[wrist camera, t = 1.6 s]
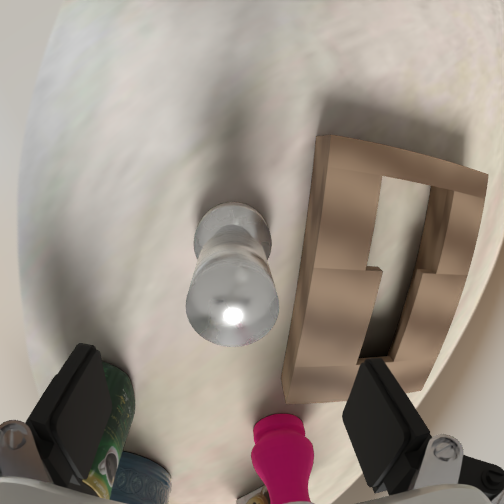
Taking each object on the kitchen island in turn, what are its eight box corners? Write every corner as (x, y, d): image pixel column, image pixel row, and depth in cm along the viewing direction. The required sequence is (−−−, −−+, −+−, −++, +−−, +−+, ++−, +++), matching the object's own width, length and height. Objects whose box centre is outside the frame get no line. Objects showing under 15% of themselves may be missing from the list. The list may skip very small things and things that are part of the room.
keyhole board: (316, 136, 23) (331, 134, 20) (462, 169, 25) (488, 174, 21) (280, 378, 31) (286, 404, 27) (407, 369, 32) (421, 390, 28)
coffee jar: (69, 349, 29) (-6, 476, 11) (133, 363, 29) (81, 516, 12) (82, 405, 32) (36, 519, 14) (139, 419, 32) (109, 547, 15)
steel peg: (198, 199, 25) (168, 243, 13) (272, 204, 25) (304, 252, 14) (195, 268, 26) (171, 354, 15) (264, 273, 27) (286, 360, 16)
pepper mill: (238, 423, 33) (246, 574, 14) (293, 402, 32) (328, 559, 13) (264, 449, 35) (280, 579, 16) (314, 431, 35) (349, 563, 16)
